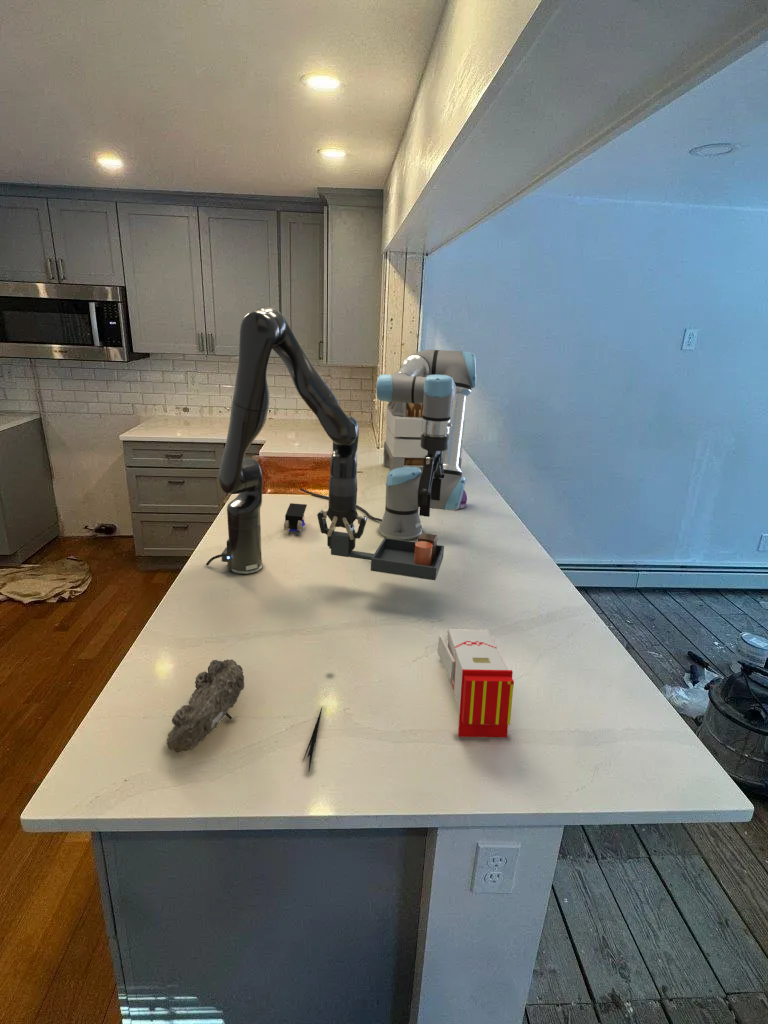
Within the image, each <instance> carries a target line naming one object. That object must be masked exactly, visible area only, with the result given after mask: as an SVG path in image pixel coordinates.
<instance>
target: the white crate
mask: <svg viewBox="0 0 768 1024" xmlns="http://www.w3.org/2000/svg"><path fill="white" fill-rule="evenodd" d="M387 403H388V404H387V405H386V413H385V414H386V415H385V423H386V428H385V438H384V442H383V466H384V467H388V468H389V472H390V471H391V470H393V469H396V468H400V467H405V466H406V467H417V466H418V467H423V463H424V457H425V456H426V455H427V453H428V451H427V450H424V449H422V448H421V435H422V434H423V433H422V432H421V428H422V416H423V404H413V403H399V402H387ZM464 429H465V419H464V420H463V429H462V438H461V447H460V456H459V465H458V467H459V468H460V470H462V461H463V460H462V453H463V442H464V441H463V440H462V439H463V438H464V431H465V430H464ZM427 466H428V465H427Z"/></svg>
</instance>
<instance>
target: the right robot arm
mask: <svg viewBox="0 0 768 1024" xmlns="http://www.w3.org/2000/svg"><path fill="white" fill-rule="evenodd" d="M476 365H477V363H476V355H475V354H474V353H473V352H471V351H463V350H446V349H444V350H443V349H427V350H425V349H424V350H421V351H417V352H414V353H412V354H410V355H408V356H407V357H406V358H405V359H403V361H402V363H401V365H400V367H399V369H398V370H396V371H395V372H394V373H393V374H390V373H388V374H380V375H379V376H378V378H377V381H376V393H375V394H376V398H377V400H378V401H380V402H387V403H389V402H399V403H413V404H423V416H422V428H421V432H422V433H423V434H422V435H421V448H422V449H424V450H427V451H428V453H427V455H426V456H425V457H424V463H423V466H422V469H421V468H420V467H417V466H404V467H400V468H396V469H393V470H391V471H390V470H389V472H388V473H387V475H386V482H385V504H384V505H385V507H384V508H385V509H384V513H383V515H382V518H378V517H375V516H373V515H371V514H370V513H369V512H368V511H367V510H366V509H365V508H363V507H361V506H360V505H357V504H356V509H358V510H360V511H362V512H363V513H364V514H365V516H366V517H367V518H369V519H371V520H373V521H378V522H379V527H378V533H379V534H380V535H381V536H382V537H384V538H392V539H399V540H406V541H412V540H415V539H418V537H419V536H420V534H421V533H423V525H422V524H421V518H420V516H421V517H427V518H429V517H430V514H431V509H434V510H443V511H456V510H459V509H458V507H459V505H460V502H461V498H462V495H463V491H465V485H466V480H467V479H466V477H465V476H463V470H462V469H461V470H462V471H461V470H460V468H459V467H458V465H459V456H460V447H461V440H462V439H463V438H462V429H463V420H465V418H464V417H465V411H466V400H467V397H468V396H469V395H470V394H472V389H475V388H476V387H477V366H476ZM427 465H428V466H427ZM299 491H301V492H304V494H308V495H311V496H314V497H318V498H322V499H327V500H329V496H326V495H323V494H318V493H315V492H312V491H309V490H306V489H304V488H302V487H300V488H299Z"/></svg>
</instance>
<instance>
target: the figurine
mask: <svg viewBox="0 0 768 1024" xmlns="http://www.w3.org/2000/svg"><path fill="white" fill-rule="evenodd" d="M461 471H462V472H463V470H462V469H461ZM467 495H468V494H467V492H466V491H465V490H464V491H463V495H462V498H461V502H460V505H459V507H458V509H457V510H460V509H464V508H465V507H466V506H467V502H468V496H467Z"/></svg>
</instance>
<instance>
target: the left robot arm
mask: <svg viewBox="0 0 768 1024" xmlns="http://www.w3.org/2000/svg"><path fill="white" fill-rule="evenodd" d="M294 334H295V333H294V332H293V331H292V328H291V327H290V325H289V324H288V321H287V320H286V318H285V316H284V315H283V314H282V313H281V312H280V311H279V310H278V309H276V308H274V307H271V306H262V307H259V308H257V309H255V310H251V311H249V312H248V313H247V314H245V316H244V317H243V318H242V320H241V323H240V327H239V344H238V345H239V348H238V365H237V371H236V376H235V384H234V390H233V395H232V401H231V408H230V415H229V423H228V424H229V425H228V429H227V435H226V442H225V444H224V445H225V446H224V449H223V453H222V455H221V456H222V457H221V461H220V464H219V470H218V483H219V486H220V488H221V490H222V492H224V493H225V494H228V495H237V496H236V497H235V498H233V499H232V500H231V501H229V503H228V504H227V506H226V515H227V517H226V518H227V533H228V538H227V540H226V547H225V548H224V549H223V551H222V552H221V553H220V554H216V555H214V556H213V557H211V558H209V560H208V561H207V562H206V563H205V566H209V565H210V564H211V563H212V562H213V561H215V560H216V559H218V558H221V562H222V563H227V571H228V572H232V573H234V574H238V575H250V574H255V573H257V572H259V571H261V570H262V568H263V558H262V531H261V530H262V529H261V528H262V527H261V507H262V505H263V471H262V468H261V465H260V463H259V462H258V460H257V459H255V458H253V457H245V456H246V454H247V451H248V450H249V449H250V446H251V445H252V443H253V442H254V441H255V440H256V439H257V437H258V435H259V434H260V433H261V431H262V430H263V428H264V427H265V425H266V421H267V417H268V412H269V405H270V390H269V385H268V380H267V371H268V366H269V365H268V364H269V361H270V356H271V352H272V351H273V352H275V354H277V356H278V357H279V358H280V359H281V361H282V362H283V364H284V366H285V368H286V370H287V372H288V373H289V376H290V378H291V381H292V383H293V385H294V387H295V389H296V391H297V393H298V395H299V397H300V398H301V399H302V401H303V402H304V403H305V405H307V407H308V408H309V409H310V410H311V412H312V413H313V414H314V415H315V417H316V418H317V420H318V421H319V423H320V425H321V427H322V428H323V430H324V431H325V433H326V435H327V436H328V438H330V440H331V441H332V453H331V457H330V463H329V465H330V466H329V467H330V469H329V480H328V497H329V499H328V508H327V510H325V511H324V510H323V509H321V510H320V511H319V512H317V515H316V516H317V520H318V525H319V529H320V533H321V534H324V535H326V536H327V537H326V538H327V542H326V543H327V547H328V548H329V550H331V535H332V534H333V532H334V531H336V528H343V529H345V530H346V533H348V534H349V537H350V539H349V552H352V551H355V548H356V540H357V539H361V538H362V536H363V534H364V531H365V528H366V524H367V522H368V516H367V515H364V516H362V515H359V513H358V511H357V508H356V505H357V504H358V503H357V501H358V477H357V476H358V475H357V474H358V473H357V472H358V457H357V456H358V455H357V453H358V446H359V437H360V425H359V422H358V421H357V420H356V418H355V417H353V416H352V415H351V414H346V413H345V412H344V410H343V409H342V407H341V406H340V405H339V400H338V398H337V397H336V395H335V394H334V393H333V391H332V390H331V388H330V387H329V385H327V383H326V382H325V381H324V379H323V378H322V376H321V375H320V374H319V372H318V371H317V370H316V368H315V367H314V365H313V363H311V361H310V359H309V358H308V357H307V355H306V353H305V351H304V349H303V347H301V345H300V343H299V341H298V339H297V338H296V336H295V335H294ZM327 518H328V519H329V521H330V522H331V523H330V525H329V527H328V523H327ZM356 520H357V524H358V528H357V531H356V529H355V523H354V522H355V521H356Z"/></svg>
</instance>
